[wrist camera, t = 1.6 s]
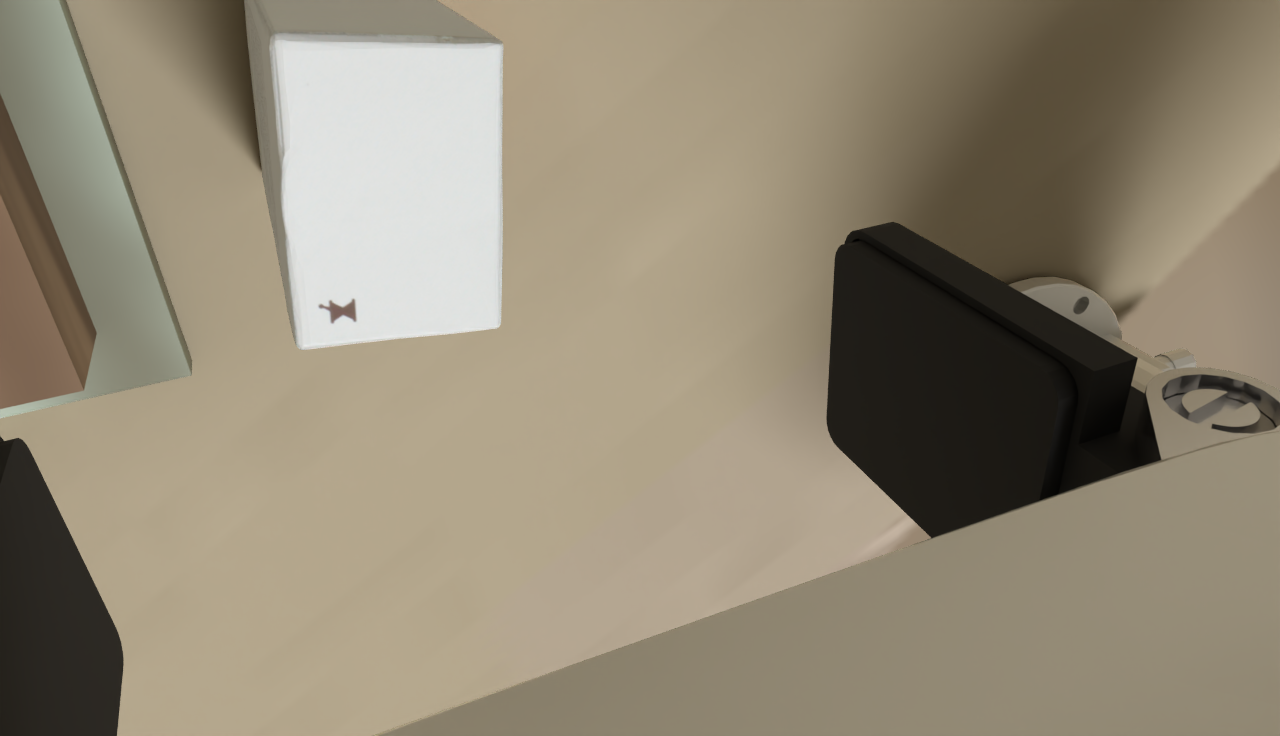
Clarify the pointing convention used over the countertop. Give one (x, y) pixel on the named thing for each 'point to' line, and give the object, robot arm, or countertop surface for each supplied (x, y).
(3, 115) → the socket holder
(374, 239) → the skincare box
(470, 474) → the countertop surface
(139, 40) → the countertop surface
